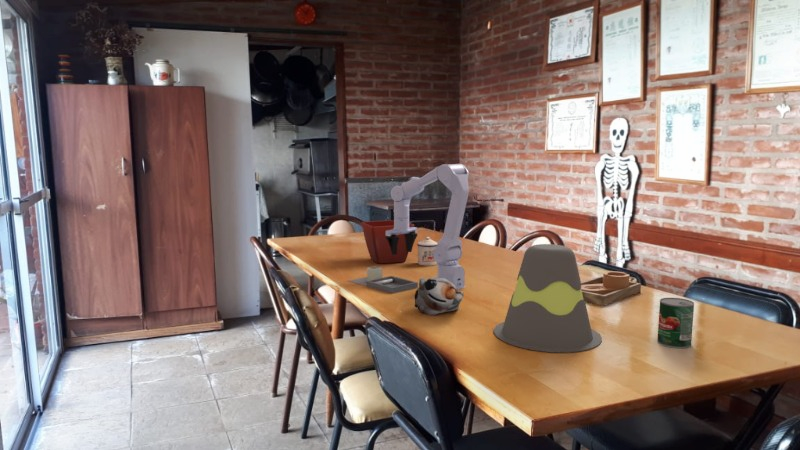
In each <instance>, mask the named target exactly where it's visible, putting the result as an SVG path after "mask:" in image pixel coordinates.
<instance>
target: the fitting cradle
mask: <svg viewBox="0 0 800 450" xmlns="http://www.w3.org/2000/svg"><path fill="white" fill-rule="evenodd" d="M588 284H603V276H601V275H600V276H597V277H593V278H591V279H587V280H585V281H581V285H588ZM641 289H642V283H641V282H634V281H630V280H629V286H628V287H625V288H622V289H620V290H617V291H614V292H611V293H608V294H605V295H600V294H595V293H590V292H585V291H582V295H583V300H584V301H585V303H586V302H587V303H591V304H594V305H595V304H596V305H600V306H606V305H609V304H612V303H615V302H618V301H621V300H622V299H626V298H628V297H630V296H631V297H632V296H634V295H636V294H638V292H639V293H641ZM633 294H634V295H633Z"/></svg>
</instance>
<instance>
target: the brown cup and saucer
mask: <svg viewBox="0 0 800 450" xmlns="http://www.w3.org/2000/svg"><path fill="white" fill-rule="evenodd" d="M602 274H603V276H602V277H603V284H588V285H581V290H582V291H585V292H590V293H595V294H600V295H605V294H608V293H611V292H614V291H617V290H620V289H622V288H625V287H628V286H629V281H630V273H629V274H628V273H627V272H624V271H612V270H611V271H604V272H603V273H602Z"/></svg>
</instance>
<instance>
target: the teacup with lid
mask: <svg viewBox="0 0 800 450" xmlns="http://www.w3.org/2000/svg"><path fill="white" fill-rule="evenodd" d="M437 243H438V241H434V240H433V239H431V237H430V236H426V237H425V239H423V240H421V241H418V242H417V244H416V245H417V264H418V265H420V266H426V267H428V266H429V267H431V266H436V265H437V266H438V264H436V263H437V262H436V261H435V259H434V257H433V251H434V249H435V248H436V246H437Z"/></svg>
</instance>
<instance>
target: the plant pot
mask: <svg viewBox="0 0 800 450" xmlns="http://www.w3.org/2000/svg"><path fill="white" fill-rule="evenodd" d="M361 226H362V230H363V232H362V233H363V236H364V240H365V244H366V249H367V250H368V251H367V252H368V253H369V254H368V255H369V257H370V259H371V260H372V261H374V262H375V263H376V264H392V263H394V264H395V263H403V262H406V261H407V258H408V256H409V253H410V252H407V251H406V240H405V236H404V234H399V235H396V237H399V240H398V245H397V254H396V255H394V254H392V252H391V248H390V245H389V243H388V241H387V239H386V231H387V230H391V229H393V228H394V219H393V220H391V219H390V220H387V219H386V220H373V221H370V220H369V221H362V222H361ZM409 227H415V224H413V223H411V222H409ZM400 233H402V232H400Z"/></svg>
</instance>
